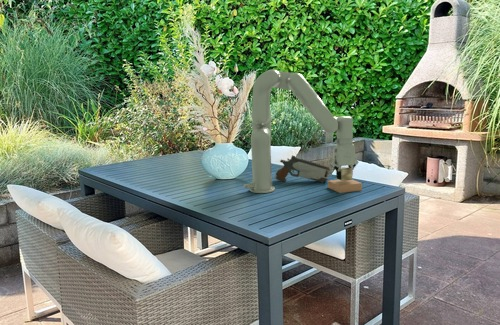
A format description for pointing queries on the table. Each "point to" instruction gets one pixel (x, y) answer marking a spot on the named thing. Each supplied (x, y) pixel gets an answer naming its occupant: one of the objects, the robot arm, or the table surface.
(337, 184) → the terracotta base
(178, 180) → the table surface
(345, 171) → the beech cube
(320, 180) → the gun
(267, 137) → the robot arm
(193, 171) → the table surface
